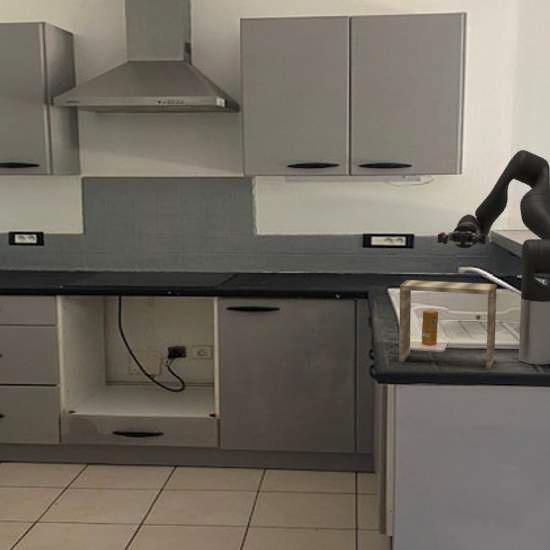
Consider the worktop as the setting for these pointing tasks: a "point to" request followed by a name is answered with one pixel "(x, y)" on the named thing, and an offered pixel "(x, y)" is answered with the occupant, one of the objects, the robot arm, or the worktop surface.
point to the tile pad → (428, 347)
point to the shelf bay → (451, 288)
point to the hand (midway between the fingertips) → (459, 240)
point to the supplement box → (429, 327)
